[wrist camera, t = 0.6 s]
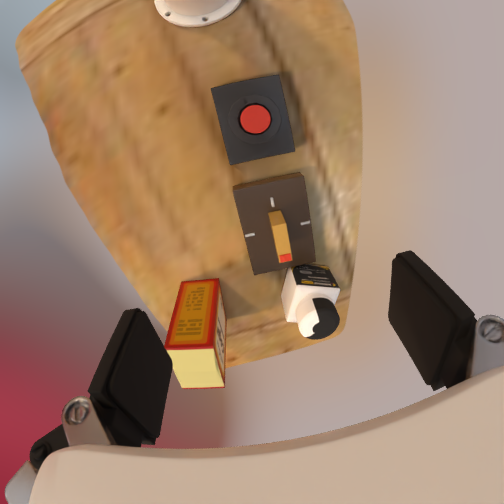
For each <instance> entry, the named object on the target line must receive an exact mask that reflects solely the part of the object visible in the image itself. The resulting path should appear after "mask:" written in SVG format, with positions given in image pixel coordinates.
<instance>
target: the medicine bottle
mask: <svg viewBox="0 0 504 504" xmlns="http://www.w3.org/2000/svg"><path fill="white" fill-rule="evenodd" d="M339 292H340V288H339V286H338V285H337V283H336V281H335V279H334V277H333V275H332V273H331V271H330V269H329V268H328V267H327V266H318V265H309V264H303V265H299V266H294V267H290V268H288V270H287V274H286V278H285V282H284V286H283V290H282V294H281V298H282V303H283V307H284V312H285V316H286V320H287V322H297V323H298V326H299V330H300V333H301V334H302V335H303V336H304V337H306V338H309V339H322V338H325V337H327V336H329V335H331V334H332V333H333V332H334V331H335V330H336V328H337V327H338V325H339V321H340V318H339V315H338V313H337V310H336V308H335V306H334V305H335V302H336V300H337V297H338V295H339Z"/></svg>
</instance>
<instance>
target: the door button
mask: <svg viewBox="0 0 504 504" xmlns="http://www.w3.org/2000/svg"><path fill="white" fill-rule="evenodd" d="M270 120H271V118H270V114H269V112H268V111H267V110H266V109H265V108H264V107H262V106H259V105H252V106H249V107H247V108H246V109H245V110H244V111H243V112H242V114H241V117H240V121H241V124H242V126H243V128H244V129H245V130H246V131H248V132H250V133H261V132H263V131H265V130H266V129H267V128H268V126H269V124H270Z"/></svg>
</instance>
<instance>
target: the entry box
mask: <svg viewBox="0 0 504 504" xmlns="http://www.w3.org/2000/svg"><path fill="white" fill-rule="evenodd" d="M211 91H212V95H213V99H214V103H215V107H216V111H217V115H218V119H219V123H220V127H221V131H222V135H223V139H224V143H225V147H226V151H227V155H228V159H229V163H230V165H233V164H238V163H242V162H246V161H251V160H256V159H260V158H265V157H270V156H275V155H280V154H285V153H290V152H295V147H294V142H293V137H292V132H291V127H290V122H289V117H288V113H287V108H286V104H285V99H284V95H283V90H282V86H281V82H280V77H279V75H273V76H267V77H261V78H255V79H250V80H245V81H240V82H236V83H231V84H227V85H223V86H218V87H214V88H211ZM252 105H259V106H262V107H264V108H265V109H266V110H267V111H268V112H269V114H270V118H271V120H270V124H269V126H268V128H267V129H266V130H265V131H263V132H261V133H250V132H248V131H246V130H245V129H244V128H243V126H242V124H241V121H240V117H241V114H242V112H243V111H244V110H245V109H246V108H247V107H249V106H252Z"/></svg>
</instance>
